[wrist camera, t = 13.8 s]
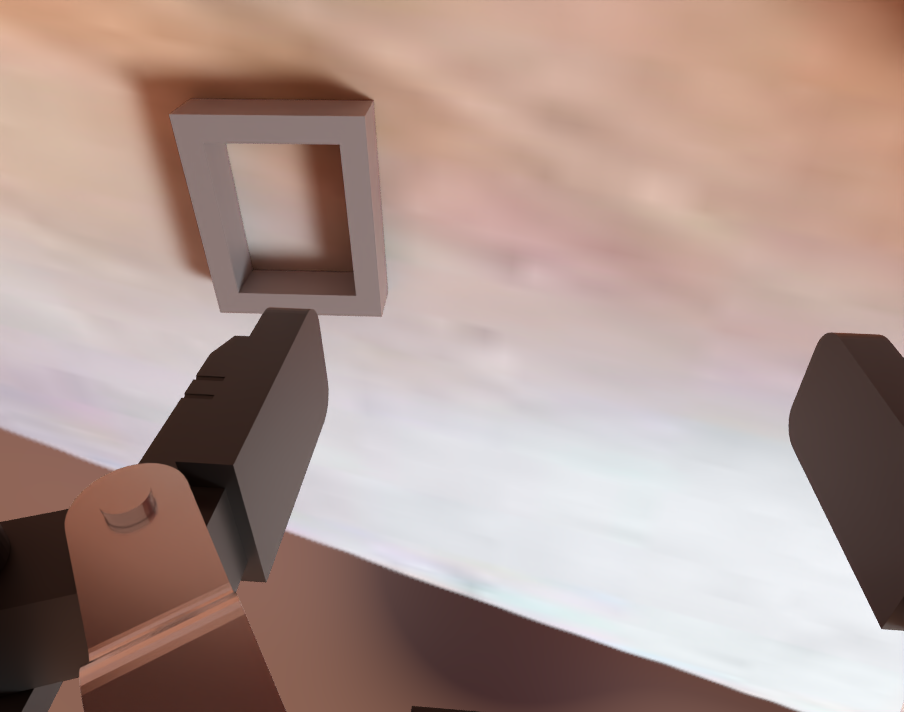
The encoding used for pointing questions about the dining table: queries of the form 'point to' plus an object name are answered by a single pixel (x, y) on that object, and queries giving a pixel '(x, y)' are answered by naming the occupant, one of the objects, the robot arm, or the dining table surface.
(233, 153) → the dining table surface
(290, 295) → the frame
